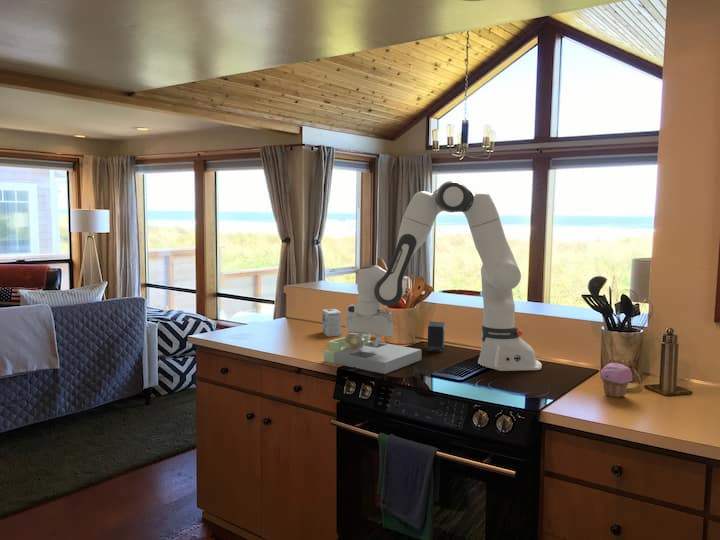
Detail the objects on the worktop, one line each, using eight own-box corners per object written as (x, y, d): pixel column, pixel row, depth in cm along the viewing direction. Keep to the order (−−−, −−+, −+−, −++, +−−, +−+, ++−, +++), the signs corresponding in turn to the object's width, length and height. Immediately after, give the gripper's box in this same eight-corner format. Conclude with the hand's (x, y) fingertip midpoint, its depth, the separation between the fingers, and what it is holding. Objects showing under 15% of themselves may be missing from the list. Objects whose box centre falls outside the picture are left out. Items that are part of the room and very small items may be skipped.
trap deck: (421, 359, 216) (421, 341, 216) (385, 374, 197) (385, 354, 197) (362, 349, 233) (362, 332, 232) (323, 361, 214) (323, 342, 214)
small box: (443, 352, 229) (443, 326, 227) (426, 351, 230) (427, 325, 229) (444, 346, 239) (445, 321, 238) (429, 345, 240) (429, 320, 239)
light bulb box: (322, 332, 267) (321, 309, 266) (335, 331, 269) (335, 308, 268) (327, 336, 257) (327, 313, 256) (342, 335, 259) (342, 312, 258)
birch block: (363, 346, 220) (363, 334, 219) (355, 349, 216) (355, 336, 215) (352, 345, 223) (352, 332, 222) (345, 347, 219) (344, 334, 218)
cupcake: (609, 389, 180) (611, 358, 179) (636, 396, 173) (638, 364, 172) (594, 394, 175) (595, 362, 174) (621, 402, 168) (622, 369, 167)
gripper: (397, 310, 210) (396, 347, 212) (352, 304, 223) (352, 339, 224) (387, 312, 205) (387, 350, 207) (342, 306, 218) (342, 342, 219)
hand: (368, 344), depth 215 cm, fingers open, 4 cm apart
